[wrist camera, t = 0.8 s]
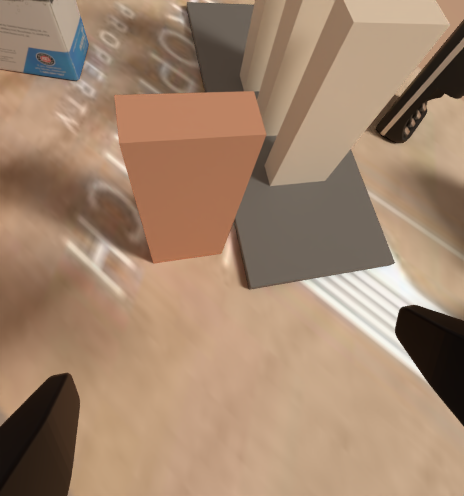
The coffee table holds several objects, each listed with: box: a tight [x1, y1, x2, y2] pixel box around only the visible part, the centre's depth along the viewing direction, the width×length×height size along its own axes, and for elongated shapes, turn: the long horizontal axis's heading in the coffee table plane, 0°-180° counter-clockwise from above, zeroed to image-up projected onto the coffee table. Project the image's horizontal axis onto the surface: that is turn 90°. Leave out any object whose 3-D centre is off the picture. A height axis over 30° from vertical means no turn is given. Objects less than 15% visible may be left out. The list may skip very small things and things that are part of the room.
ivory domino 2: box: [257, 0, 335, 136], centre depth 21 cm, size 2×5×13 cm, turn 101°
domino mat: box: [187, 2, 395, 290], centre depth 28 cm, size 30×12×1 cm, turn 11°
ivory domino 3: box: [264, 0, 450, 186], centre depth 20 cm, size 2×5×13 cm, turn 101°
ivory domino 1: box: [240, 0, 286, 91], centre depth 23 cm, size 2×5×13 cm, turn 101°
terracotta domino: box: [114, 91, 267, 263], centre depth 17 cm, size 2×5×13 cm, turn 101°
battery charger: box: [376, 20, 464, 143], centre depth 25 cm, size 7×4×11 cm, turn 142°
